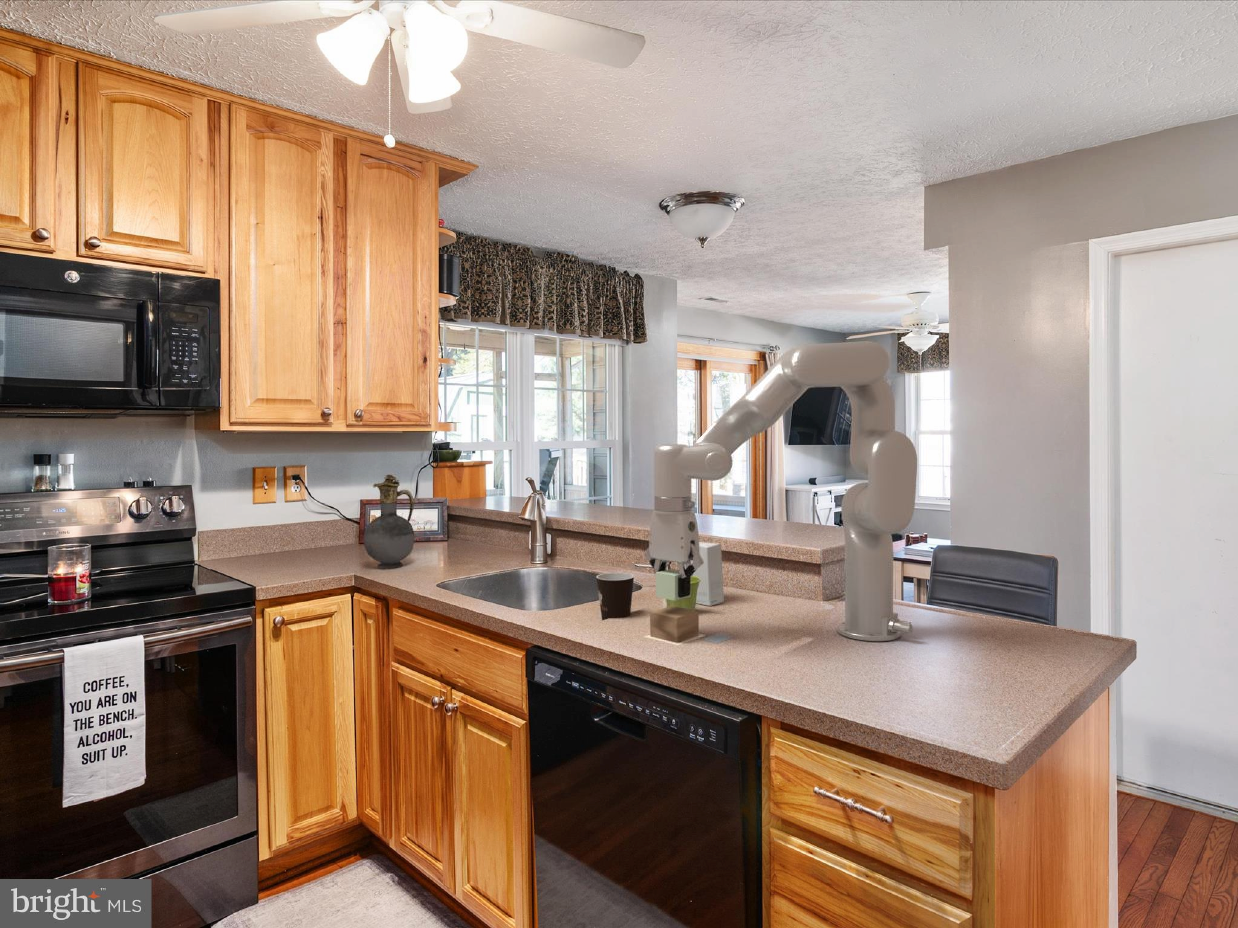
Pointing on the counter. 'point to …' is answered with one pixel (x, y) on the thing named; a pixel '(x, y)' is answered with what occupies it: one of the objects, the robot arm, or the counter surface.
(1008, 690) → the counter surface
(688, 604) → the plant pot
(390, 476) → the pitcher
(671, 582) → the sage cube
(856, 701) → the counter surface
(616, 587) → the coffee mug
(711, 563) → the skincare box
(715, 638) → the blueprint board
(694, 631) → the walnut block
